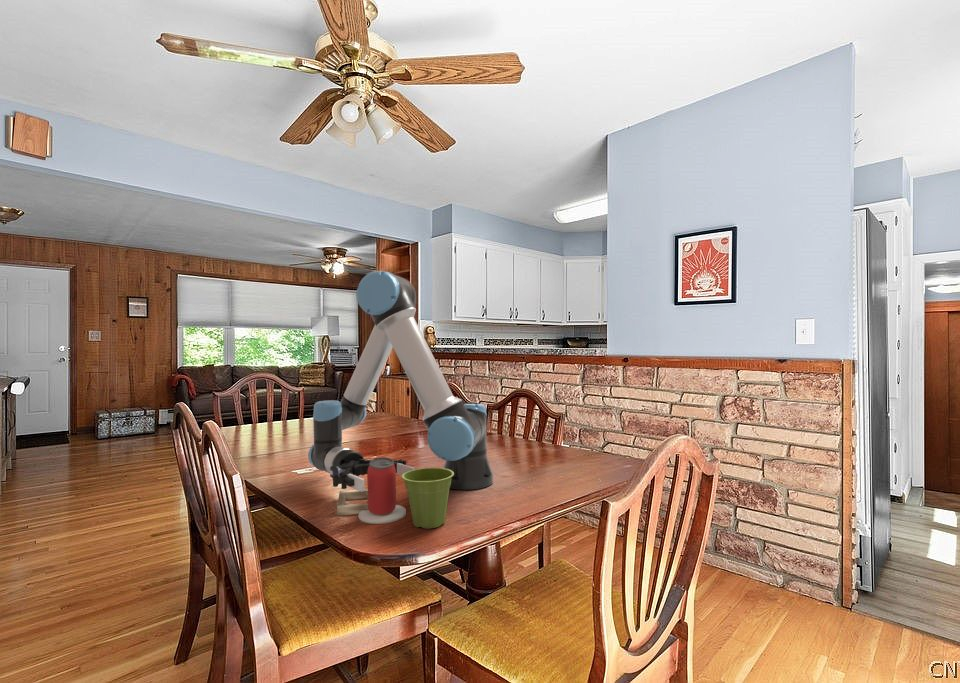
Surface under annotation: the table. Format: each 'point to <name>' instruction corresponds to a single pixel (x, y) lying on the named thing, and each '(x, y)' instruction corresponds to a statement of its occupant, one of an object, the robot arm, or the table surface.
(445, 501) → the plant pot
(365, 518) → the white plate
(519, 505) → the table surface
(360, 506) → the frame
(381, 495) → the beer can
